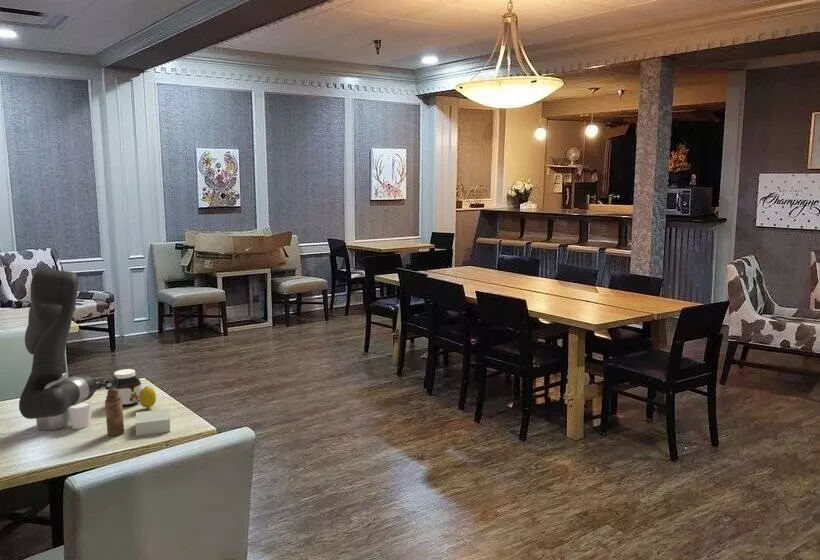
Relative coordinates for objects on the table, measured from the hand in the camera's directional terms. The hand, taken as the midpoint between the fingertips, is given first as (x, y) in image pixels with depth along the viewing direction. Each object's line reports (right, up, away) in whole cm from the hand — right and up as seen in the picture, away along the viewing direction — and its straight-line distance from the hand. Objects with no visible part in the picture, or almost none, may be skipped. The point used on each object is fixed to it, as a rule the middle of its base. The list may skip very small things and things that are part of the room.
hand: (100, 380), depth 199 cm
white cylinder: (-14, -18, +18) cm, 29 cm away
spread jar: (-8, -14, +40) cm, 43 cm away
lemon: (+2, -15, +33) cm, 36 cm away
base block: (+10, -18, +16) cm, 26 cm away
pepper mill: (0, -18, +11) cm, 22 cm away
